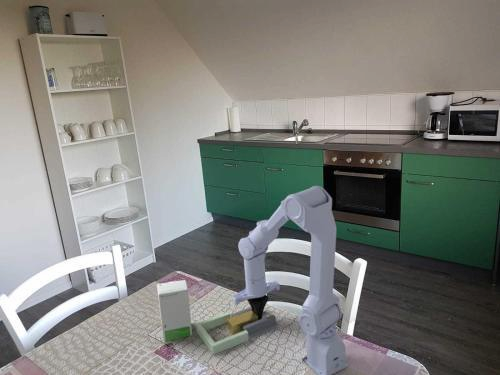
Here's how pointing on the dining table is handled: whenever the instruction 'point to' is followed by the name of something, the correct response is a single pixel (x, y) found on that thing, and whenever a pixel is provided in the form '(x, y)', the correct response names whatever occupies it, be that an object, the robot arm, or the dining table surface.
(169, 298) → the skincare box
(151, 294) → the dining table surface
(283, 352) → the dining table surface
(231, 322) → the chip
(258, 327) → the green and grey tray
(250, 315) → the chip
